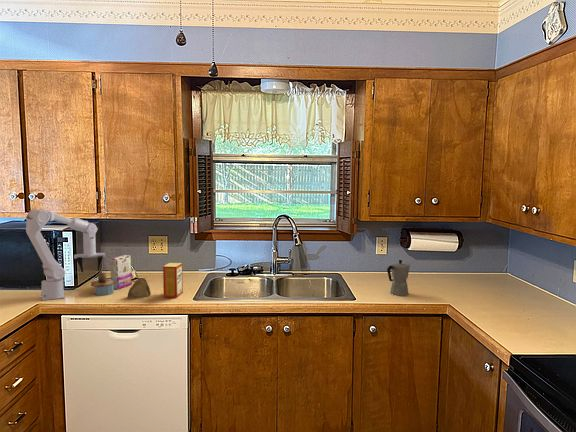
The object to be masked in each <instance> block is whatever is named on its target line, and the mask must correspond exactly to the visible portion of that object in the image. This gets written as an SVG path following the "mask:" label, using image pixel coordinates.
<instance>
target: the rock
mask: <svg viewBox="0 0 576 432" xmlns="http://www.w3.org/2000/svg"><path fill="white" fill-rule="evenodd" d="M148 283H149V282H148V281H147V280H146V278H145V277H139V278H138V279H136V280H135V281H134V283H132V286H131V287H129V290H128V293H127V297H126V298H127V299H133V298H144V297H149V296H151V295H152V293H151V290H150V286H149V284H148Z"/></svg>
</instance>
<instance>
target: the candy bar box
mask: <svg viewBox="0 0 576 432" xmlns="http://www.w3.org/2000/svg"><path fill="white" fill-rule="evenodd" d="M109 263H110V264H109V266H110V267H109V270H110V280H113V284H114V290H120V289H124V288H127V287H129V286H131V285H132V286H133V278H132V277H133V276H132V274H133V273H132V255H128V254H124V255H120V256H117V257H116V256H115V257H112V258H109Z"/></svg>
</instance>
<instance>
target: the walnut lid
mask: <svg viewBox="0 0 576 432" xmlns="http://www.w3.org/2000/svg"><path fill="white" fill-rule="evenodd" d="M97 277H98V279H97V280H94V281H92V282H90V286H91V287H94V288H95V287H106V286H110V285H113V280H111V279H107V273H106V272H99V273H98V274H97Z"/></svg>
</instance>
